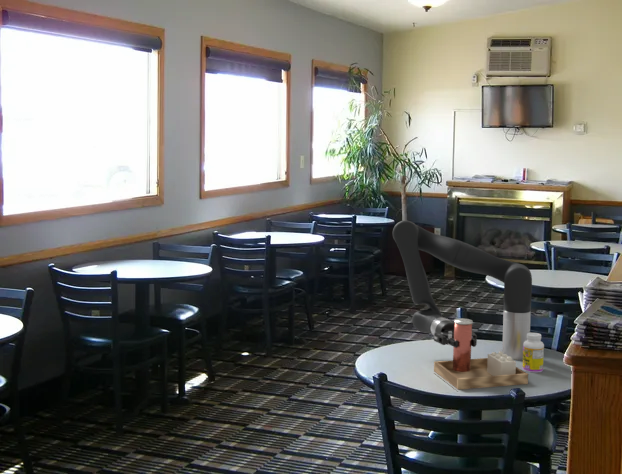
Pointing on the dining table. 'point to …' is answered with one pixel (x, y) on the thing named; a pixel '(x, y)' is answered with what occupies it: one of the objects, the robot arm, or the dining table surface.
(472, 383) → the tray
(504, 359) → the white toy brick
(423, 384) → the dining table surface
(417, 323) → the robot arm
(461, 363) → the coffee tin
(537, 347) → the supplement bottle
